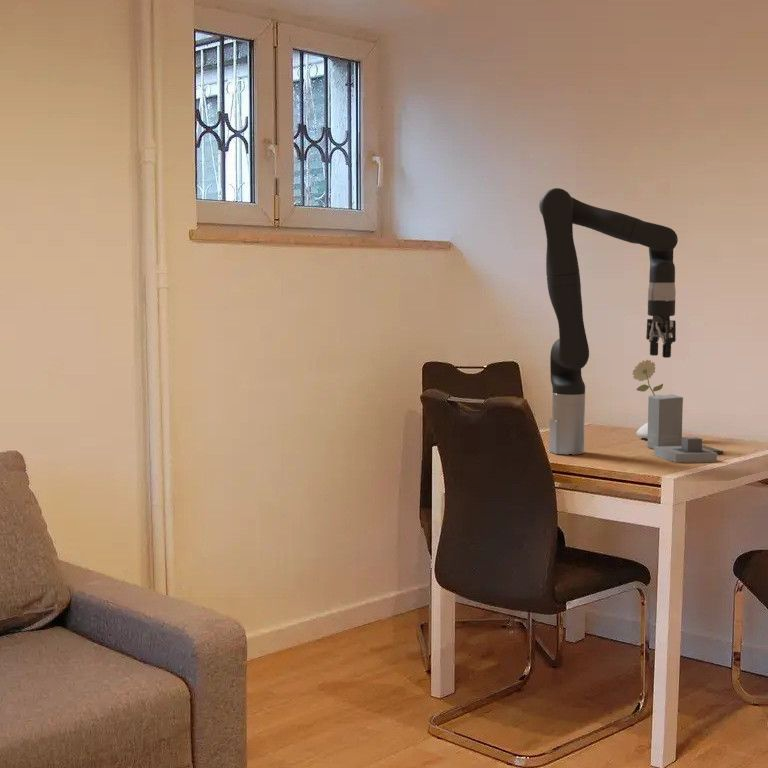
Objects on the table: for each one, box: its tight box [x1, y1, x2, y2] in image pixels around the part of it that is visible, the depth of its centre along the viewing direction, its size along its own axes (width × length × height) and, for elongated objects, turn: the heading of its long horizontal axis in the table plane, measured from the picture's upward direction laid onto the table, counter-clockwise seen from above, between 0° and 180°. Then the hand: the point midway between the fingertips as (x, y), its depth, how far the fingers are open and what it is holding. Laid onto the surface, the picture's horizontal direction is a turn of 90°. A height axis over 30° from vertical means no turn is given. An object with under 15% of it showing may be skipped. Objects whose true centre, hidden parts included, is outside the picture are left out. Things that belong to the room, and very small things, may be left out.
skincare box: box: [647, 394, 684, 450], centre depth 329 cm, size 8×7×16 cm
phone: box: [702, 444, 724, 455], centre depth 325 cm, size 12×6×1 cm, turn 10°
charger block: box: [681, 436, 703, 452], centre depth 310 cm, size 4×4×6 cm
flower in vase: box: [632, 359, 664, 440], centre depth 349 cm, size 13×11×25 cm
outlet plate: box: [653, 446, 718, 464], centre depth 312 cm, size 12×14×2 cm
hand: (660, 356), depth 315 cm, fingers open, 8 cm apart
